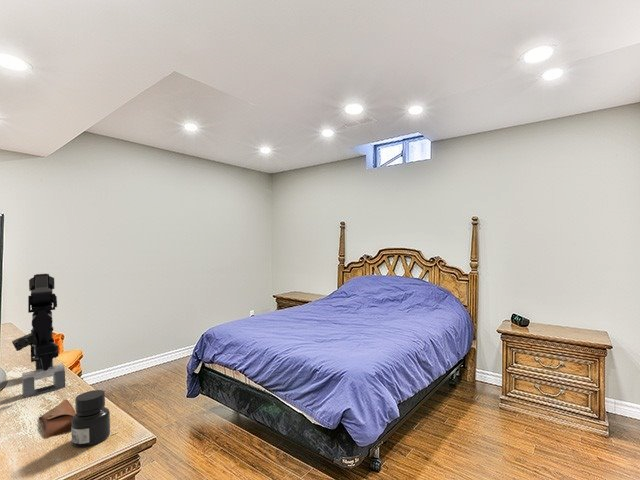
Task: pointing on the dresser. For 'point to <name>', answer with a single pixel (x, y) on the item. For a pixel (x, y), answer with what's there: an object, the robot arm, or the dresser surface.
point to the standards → (30, 390)
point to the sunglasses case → (58, 419)
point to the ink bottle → (90, 419)
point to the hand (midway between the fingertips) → (43, 367)
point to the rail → (42, 373)
